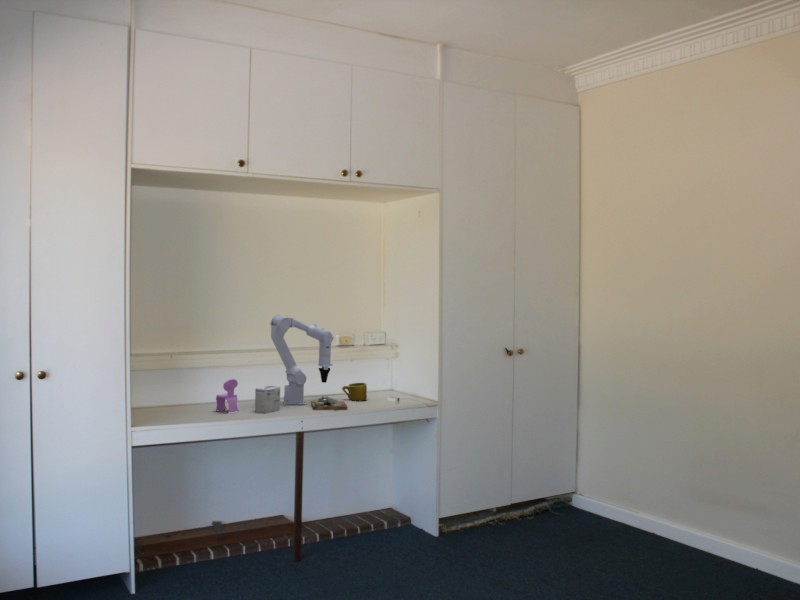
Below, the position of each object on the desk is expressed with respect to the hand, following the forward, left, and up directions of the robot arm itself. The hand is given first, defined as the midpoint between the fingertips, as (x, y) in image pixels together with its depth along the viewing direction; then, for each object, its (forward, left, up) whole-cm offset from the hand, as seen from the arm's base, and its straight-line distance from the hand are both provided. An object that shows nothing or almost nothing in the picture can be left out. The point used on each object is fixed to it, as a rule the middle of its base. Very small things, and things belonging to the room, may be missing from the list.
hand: (324, 382), depth 375 cm
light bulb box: (-28, -24, -10) cm, 38 cm away
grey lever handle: (+1, -19, -8) cm, 21 cm away
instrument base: (+1, -16, -9) cm, 19 cm away
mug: (+16, +4, -10) cm, 19 cm away
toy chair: (-46, -25, -10) cm, 53 cm away
